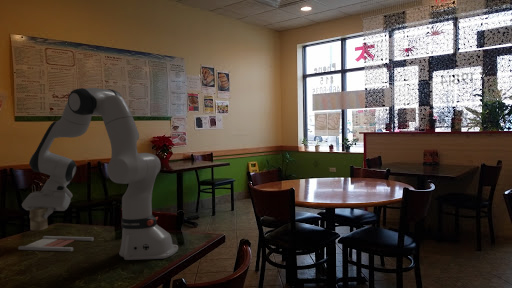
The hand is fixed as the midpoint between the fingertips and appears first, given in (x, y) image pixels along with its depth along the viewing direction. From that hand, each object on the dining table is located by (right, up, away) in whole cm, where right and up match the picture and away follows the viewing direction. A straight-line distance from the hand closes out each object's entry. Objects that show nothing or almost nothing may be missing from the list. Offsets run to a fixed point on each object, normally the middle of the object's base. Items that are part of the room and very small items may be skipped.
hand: (37, 217), depth 155 cm
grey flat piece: (+9, -11, 0) cm, 14 cm away
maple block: (0, -5, +1) cm, 5 cm away
